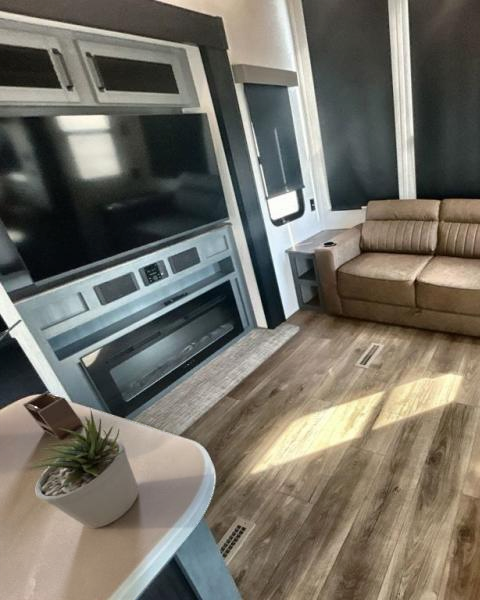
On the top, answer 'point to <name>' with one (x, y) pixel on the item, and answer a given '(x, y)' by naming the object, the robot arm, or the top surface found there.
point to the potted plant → (89, 478)
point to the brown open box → (53, 415)
